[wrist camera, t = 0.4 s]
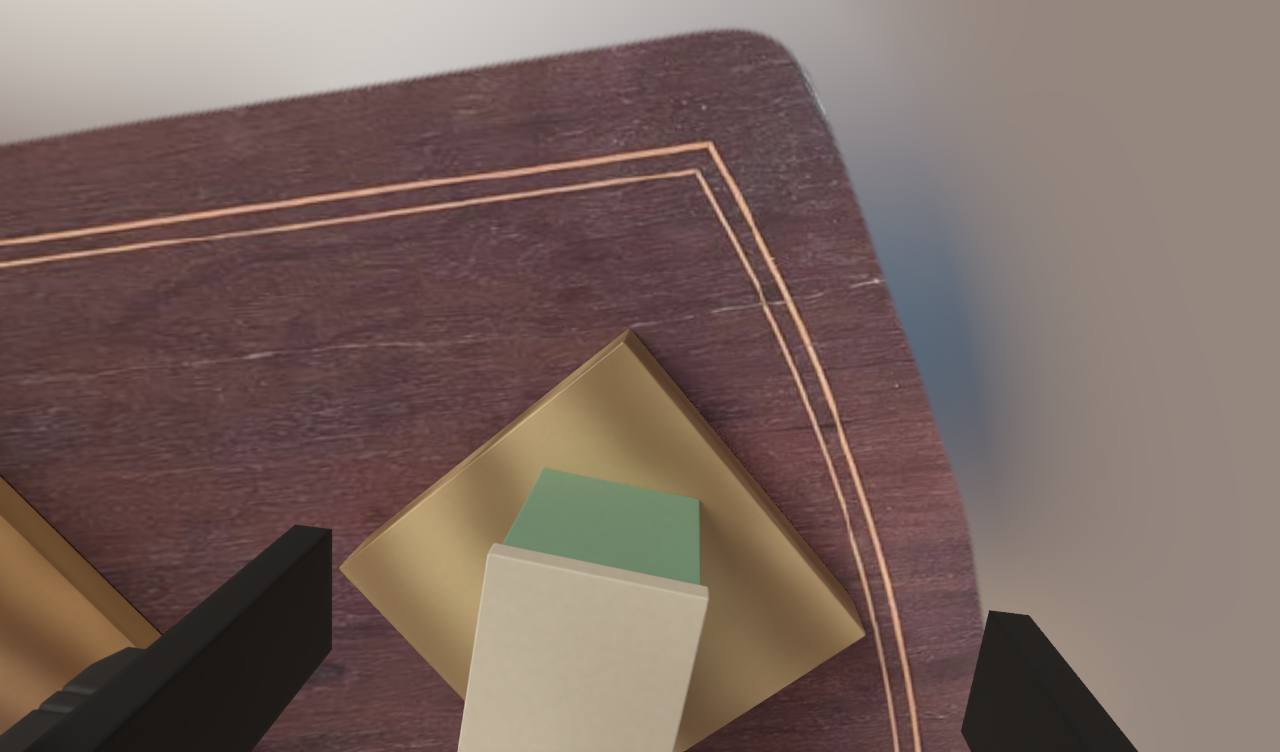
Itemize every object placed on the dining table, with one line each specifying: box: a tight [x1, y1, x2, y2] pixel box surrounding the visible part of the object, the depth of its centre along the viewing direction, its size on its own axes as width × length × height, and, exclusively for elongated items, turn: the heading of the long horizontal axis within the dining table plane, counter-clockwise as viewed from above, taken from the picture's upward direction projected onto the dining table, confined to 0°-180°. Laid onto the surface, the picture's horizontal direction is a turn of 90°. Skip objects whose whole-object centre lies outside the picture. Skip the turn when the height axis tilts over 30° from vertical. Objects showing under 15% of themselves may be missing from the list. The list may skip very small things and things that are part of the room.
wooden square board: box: [339, 329, 866, 752], centre depth 34 cm, size 16×16×3 cm
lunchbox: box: [458, 468, 709, 752], centre depth 28 cm, size 11×7×8 cm, turn 169°
